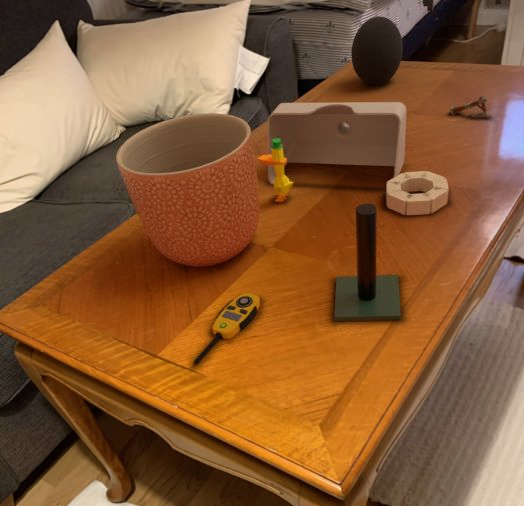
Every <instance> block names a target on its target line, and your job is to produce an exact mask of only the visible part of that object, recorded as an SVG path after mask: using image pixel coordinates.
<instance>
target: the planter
mask: <svg viewBox="0 0 524 506" xmlns="http://www.w3.org/2000/svg"><path fill="white" fill-rule="evenodd" d="M255 154H256V153H255V147H254V140H253V135H252V130H251V127H250V124H248V122H246V121H245V120H244V119H243V118H240V117H238V116H236V115H232V114H229V113H228V114H226V113H218V112H208V113H205V112H203V113H194V114H188V115H181V116H178V117H173V118H169V119H166V120H163V121H161V122H157V123H156V124H153V125H150V126H148V127H146V128H144V129H142V130H140V131H138V132H137V133H135V134H133V135H132V136H131V137H129V138H128V139H126V140H125V142H123V143H122V145H121V146H120V147H119V149H118V150H117V152H116V155H115V161H116V165H117V167H118V170H119V174H120V176H121V178H122V181H123V183H124V186H125V189H126V191H127V193H128V195H129V198H130V201H131V203H132V205H133V207H134V209H135V211H136V213H137V217H138V218H139V221H140V223H141V225H142V227H143V229H144V230H145V233H146V234H147V237H148V238H149V239H150V241H151V243H152V244H153V246H154V247H155V248H156V250H157V251H158V252H159V253H160V254H161V255H162V256H163V257H165V258H166V259H168V260H170V261H172V262H174V263H176V264H179V265H182V266H187V267H194V268H204V267H212V266H216V265H219V264H222V263H225V262H227V261H230V260H231V259H233V258H235V257H237V256H238V255H239V254H240V253H241V252H243V251H244V250H245V249H246V247H247V246H248V245H249V244H250V243H251V242H252V240H253V239H254V237H255V235H256V232H257V230H258V226H259V220H260V196H259V195H260V193H259V192H260V191H259V180H258V172H257V171H258V170H257V162H256V155H255Z"/></svg>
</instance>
